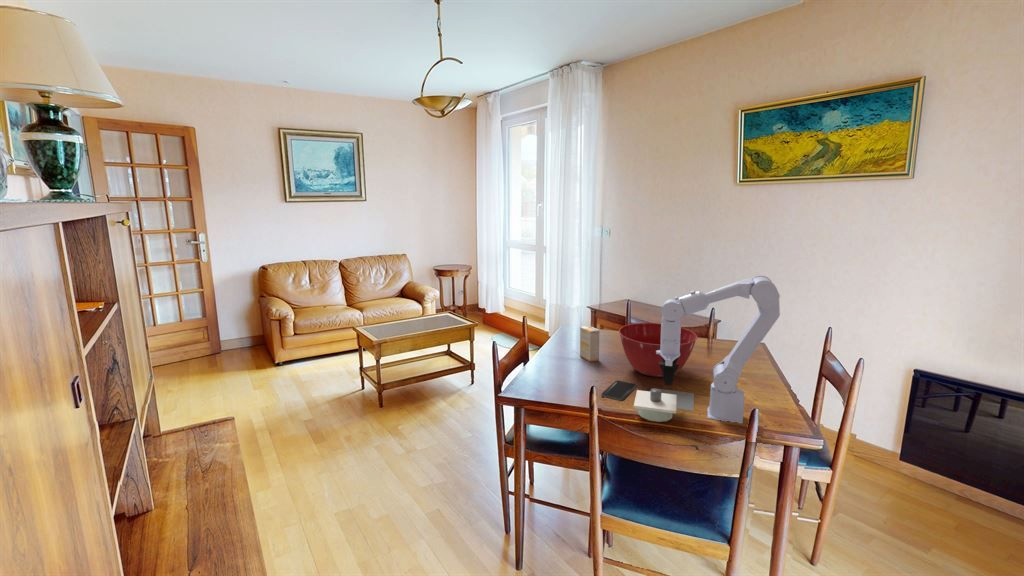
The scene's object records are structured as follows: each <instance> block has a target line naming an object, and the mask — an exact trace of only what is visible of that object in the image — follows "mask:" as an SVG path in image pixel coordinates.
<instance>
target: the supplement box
mask: <svg viewBox="0 0 1024 576" xmlns="http://www.w3.org/2000/svg"><path fill="white" fill-rule="evenodd" d="M579 356H580V357H581V358H582V359H584V360H585V361H588V362H590V363H592V362H597V361H599V360H600V329H598V328H595V327H593V326H591V325H582V326H580V327H579Z"/></svg>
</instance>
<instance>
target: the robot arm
mask: <svg viewBox="0 0 1024 576" xmlns="http://www.w3.org/2000/svg"><path fill="white" fill-rule="evenodd" d="M750 296H751V297H752V299H753V300H754V302H755V303H756V306H757V308H758V313H757V314H756V315H755V317H754V318H753V320H752V321H751V323H750V324H749V325H748V327H747V328H746V330H745V331H744V332H743V333H742V335H741V337H740V338H739V339H738V341H737V342H736V344H735V345H734V347H733V348H732V349H731V351H730V352H729V354H728V355H726V356H725V357H724V358H723V359H722V361H720V362H719V363H716V364H715V365H714V366H713V369H712V374H713V382H712V383H711V384H710V393H709V406H707V411H706V412H707V419H708V420H713V419H714V421H720V420H721V422H727V421H730V422H729V423H734V422H737V421H738V423H737V424H741V423H742V424H744V422H743V421H744V413H745V390H743V389H738V387H737V386H738V379H739V378H740V377H741V374H742V372H743V369H744V367H745V365H746V364H747V363H748V361H749V359H750V358H751V357H752V356H753V354H754V352H755V351H756V350H757V348H758V347H759V345H760V344H761V343H762V341H763V340H764V338H766V336H767V334H769V332H770V330H771V329H772V327H773V326H774V325H775V323H776V322H777V320H778V319H779V318H780V315H781V313H780V312H781V311H780V310H781V308H780V297H781V295H780V293H779V291H778V288H777V286H776V285H775V283H774V282H773V281H772V280H771V279H770V278H769V277H768V276H765V275H755V276H754V277H747V278H744V279H742V280H741V279H740V280H738V281H736V282H732V283H730V284H726V285H725V286H722V287H718V288H716V289H714V290H710V291H708V292H704V291H700V290H698V291H696V290H691V291H690V292H689V293H688V294H686V295H682V296H680V297H679V296H675V297H674V299H673V298H671V299H667V300H665V301H664V302H663V304H662V306H661V310H660V312H661V313H660V314H661V316H662V317H661V323H660V324H661V344H660V350H657V351H656V354H660V355H661V357H662V359H663V362H659V366H660V368H661V370H662V373H663V377H662V379H663V383H664V385H665V386H670V387H671V386H672V385H673V383H674V380H675V378H674V377H675V376H676V375H675V374H676V373H675V372H676V370H677V369H678V367H679V365H678V364H676V362H677V360H678V358H679V356H680V333H681V327H682V324H681V317H682V316H688V315H691V314H695V313H698V312H701V311H704V310H706V309H707V308H708V306H709V305H710V304H713V303H716V302H720V301H724V300H727V299H731V298H735V297H740V298H744V299H747V300H750Z"/></svg>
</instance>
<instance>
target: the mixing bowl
mask: <svg viewBox="0 0 1024 576" xmlns="http://www.w3.org/2000/svg"><path fill="white" fill-rule="evenodd" d="M618 333H619V336H620V339H621V344H622V345H621V346H622V348H623V351H624V353H625V356H626V358H627V360H628V362H629V364H630V365H631V367H632V368H633V369H634V370H635V371H637V372H638V373H640V374H642V375H644V376H645V375H646V376H648V377H657V378H663V373H662V370H661V368H660V366H659V362H663V359H662V357H661V355H660V354H656V351H657V350H660V344H661V323H656V322H637V323H630V324H627V325H623V326H622V327H620V328H619V329H618ZM697 340H698V335H697V334H696V332H694V331H692V330H689V329H688V328H685V327H682V326H681V333H680V356H679V358H678V360H677V362H676V364H678V365H679V367H678V369H677V370H676V372H675V374H676V373H678V372H679V371H682V368H683V367H684V366H685V364H686V362H687V361H688V359H689V357H690V356H691V353H692V352H693V348H694V347H695V343H696V341H697Z"/></svg>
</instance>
